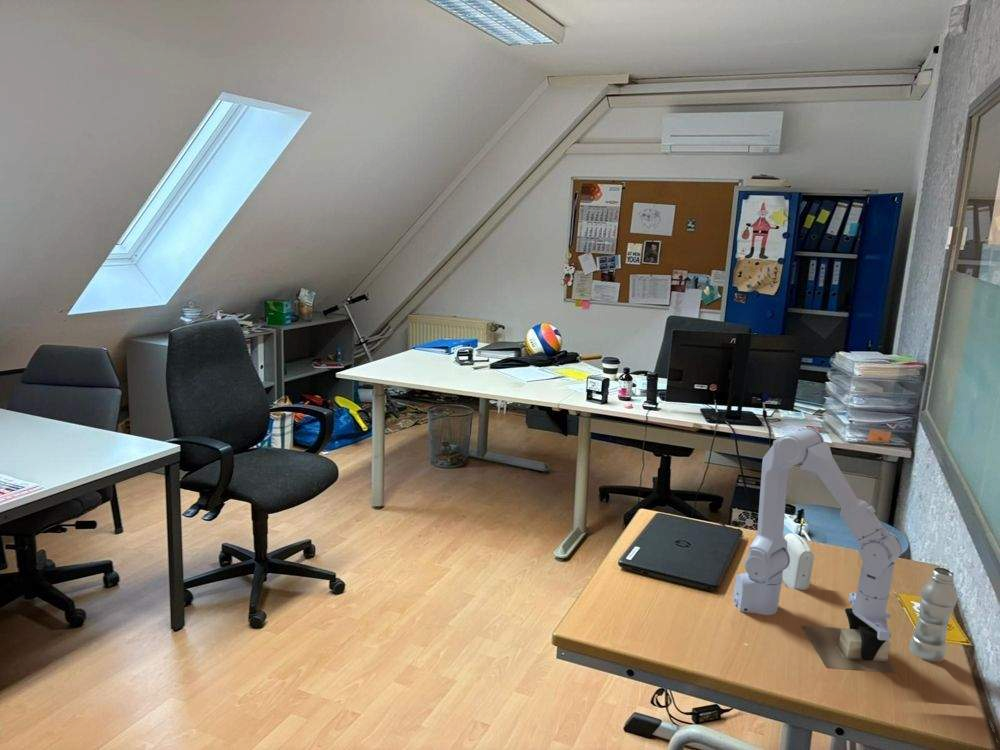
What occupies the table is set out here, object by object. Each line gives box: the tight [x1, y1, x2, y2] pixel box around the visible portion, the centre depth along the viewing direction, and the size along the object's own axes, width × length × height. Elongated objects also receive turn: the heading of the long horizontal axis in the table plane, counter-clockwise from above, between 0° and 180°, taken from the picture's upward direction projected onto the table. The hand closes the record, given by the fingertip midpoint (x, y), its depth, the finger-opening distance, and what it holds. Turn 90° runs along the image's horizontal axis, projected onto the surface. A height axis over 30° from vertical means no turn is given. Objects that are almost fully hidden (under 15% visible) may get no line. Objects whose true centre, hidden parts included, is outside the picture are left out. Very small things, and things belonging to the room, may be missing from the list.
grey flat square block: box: [800, 625, 899, 674], centre depth 155 cm, size 14×15×2 cm
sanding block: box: [839, 628, 891, 661], centre depth 153 cm, size 8×4×4 cm, turn 88°
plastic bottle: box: [909, 566, 958, 663], centre depth 153 cm, size 6×7×20 cm
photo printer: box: [782, 532, 815, 591], centre depth 182 cm, size 10×4×12 cm, turn 3°
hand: (861, 651), depth 153 cm, fingers closed on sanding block, 4 cm apart
